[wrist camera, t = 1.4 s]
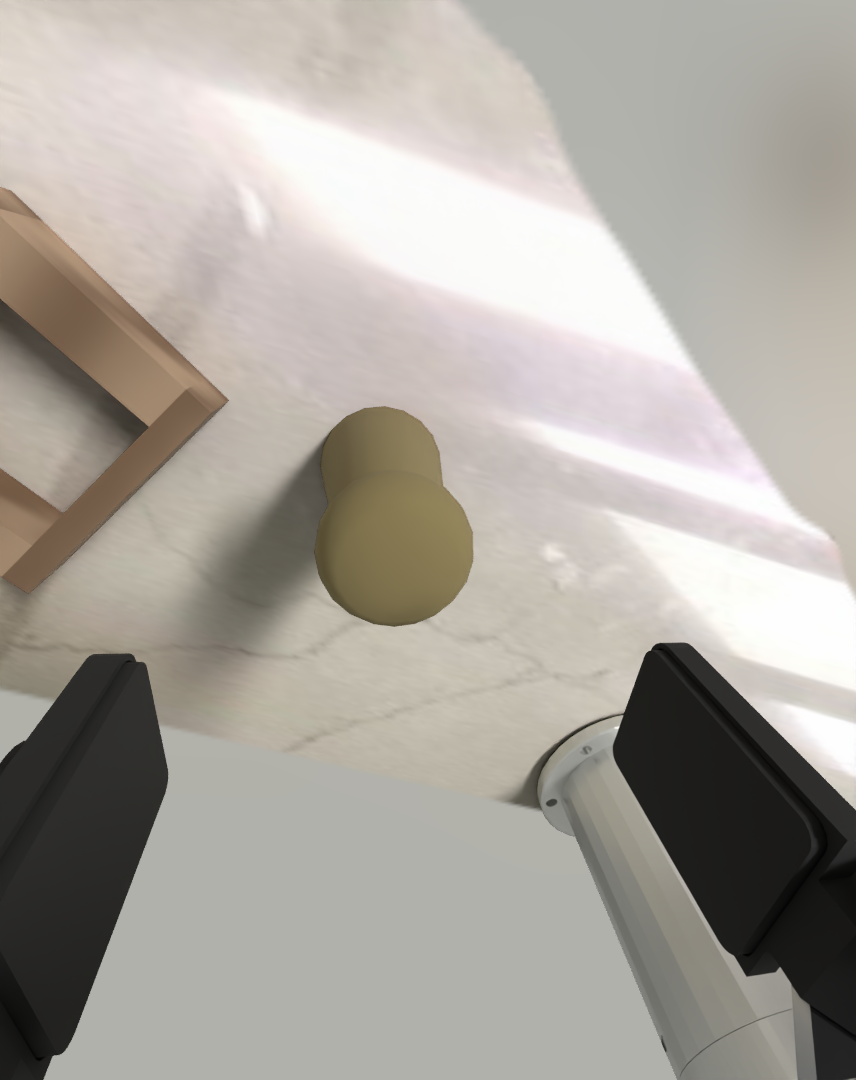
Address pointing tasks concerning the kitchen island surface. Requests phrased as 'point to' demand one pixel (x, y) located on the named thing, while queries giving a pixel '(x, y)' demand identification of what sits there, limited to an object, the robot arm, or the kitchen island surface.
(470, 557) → the tan rounded tapered piece
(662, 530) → the kitchen island surface
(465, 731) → the kitchen island surface
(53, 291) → the walnut holder
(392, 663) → the kitchen island surface
